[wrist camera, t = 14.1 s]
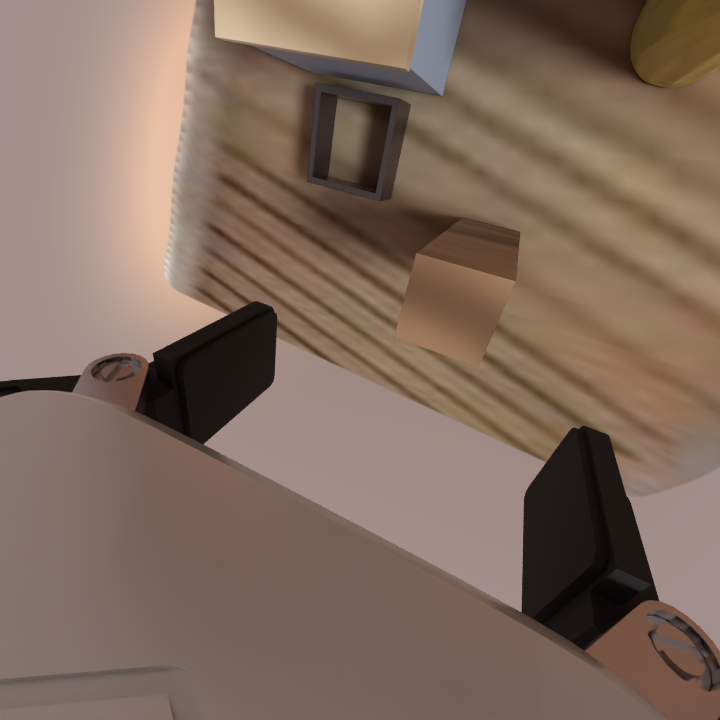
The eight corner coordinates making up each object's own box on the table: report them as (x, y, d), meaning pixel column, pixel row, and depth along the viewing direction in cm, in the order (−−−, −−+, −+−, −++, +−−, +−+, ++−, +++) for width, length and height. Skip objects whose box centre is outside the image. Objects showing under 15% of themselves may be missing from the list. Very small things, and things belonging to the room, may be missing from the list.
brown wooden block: (462, 217, 31) (416, 252, 18) (520, 232, 29) (515, 281, 16) (445, 272, 33) (394, 337, 20) (497, 287, 32) (478, 367, 19)
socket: (333, 89, 30) (316, 82, 28) (410, 104, 28) (400, 98, 26) (322, 180, 34) (307, 181, 32) (390, 198, 32) (379, 201, 30)
